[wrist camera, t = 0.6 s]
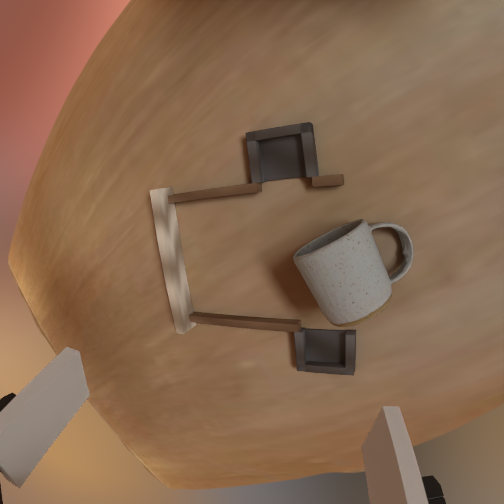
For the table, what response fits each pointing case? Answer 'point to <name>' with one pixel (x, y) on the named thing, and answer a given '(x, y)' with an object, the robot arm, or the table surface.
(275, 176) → the frame with square trays
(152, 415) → the table surface
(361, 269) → the ceramic mug
